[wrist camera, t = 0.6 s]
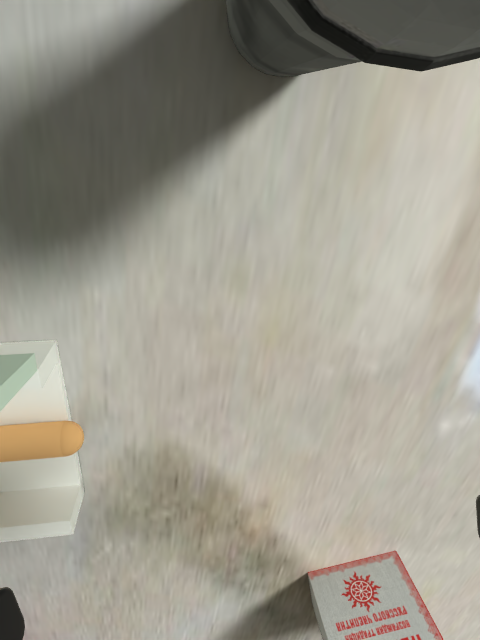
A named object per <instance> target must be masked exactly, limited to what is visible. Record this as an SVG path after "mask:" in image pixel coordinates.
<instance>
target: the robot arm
mask: <svg viewBox="0 0 480 640" xmlns="http://www.w3.org/2000/svg"><path fill="white" fill-rule="evenodd" d="M476 510H477V526H478V534H479V538H480V495H479V496H478V497H477V499H476ZM24 630H25V624H24V618H23V616H22V613H21V611H20V608H19V606H18V603H17V601H16V598H15V596H14V593H13V591H12V590H11V589H10V588H8V587H4V588H0V640H22V639H23V636H24Z"/></svg>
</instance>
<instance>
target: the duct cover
mask: <svg viewBox="0 0 480 640" xmlns="http://www.w3.org/2000/svg"><path fill="white" fill-rule="evenodd" d="M36 371H37V365H36V359H35V353H28V354H11V355H0V411H1V410H2V409H3V408H4V407H5V406H6V405H7V404H8V402H9V401H10V400H11V399H12V398H13V397H14V396H15V395H16V394H17V392H18V391H19V390H20V389H21V388H22V387H23V386H24V385H25V384H26V383H27V381H28V380H29V379H30V378H31V377H32V376H33V375H34V374H35V373H36Z"/></svg>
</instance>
